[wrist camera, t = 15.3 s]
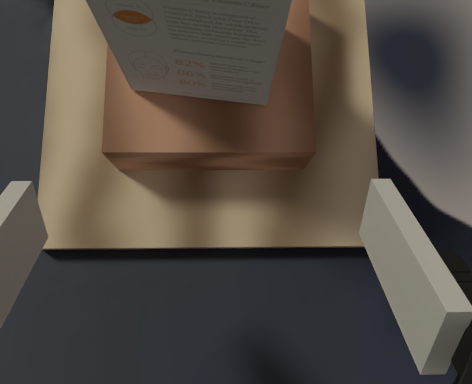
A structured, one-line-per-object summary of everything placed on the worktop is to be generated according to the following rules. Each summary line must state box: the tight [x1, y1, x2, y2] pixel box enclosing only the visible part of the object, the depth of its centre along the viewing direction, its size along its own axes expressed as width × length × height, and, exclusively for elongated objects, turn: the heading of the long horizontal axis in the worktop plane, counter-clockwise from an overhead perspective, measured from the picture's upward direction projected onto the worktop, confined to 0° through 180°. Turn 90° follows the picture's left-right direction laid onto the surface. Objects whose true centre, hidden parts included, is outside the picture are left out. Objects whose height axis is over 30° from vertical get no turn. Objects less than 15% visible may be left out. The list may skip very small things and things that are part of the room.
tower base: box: [38, 0, 379, 250], centre depth 27 cm, size 22×22×5 cm
